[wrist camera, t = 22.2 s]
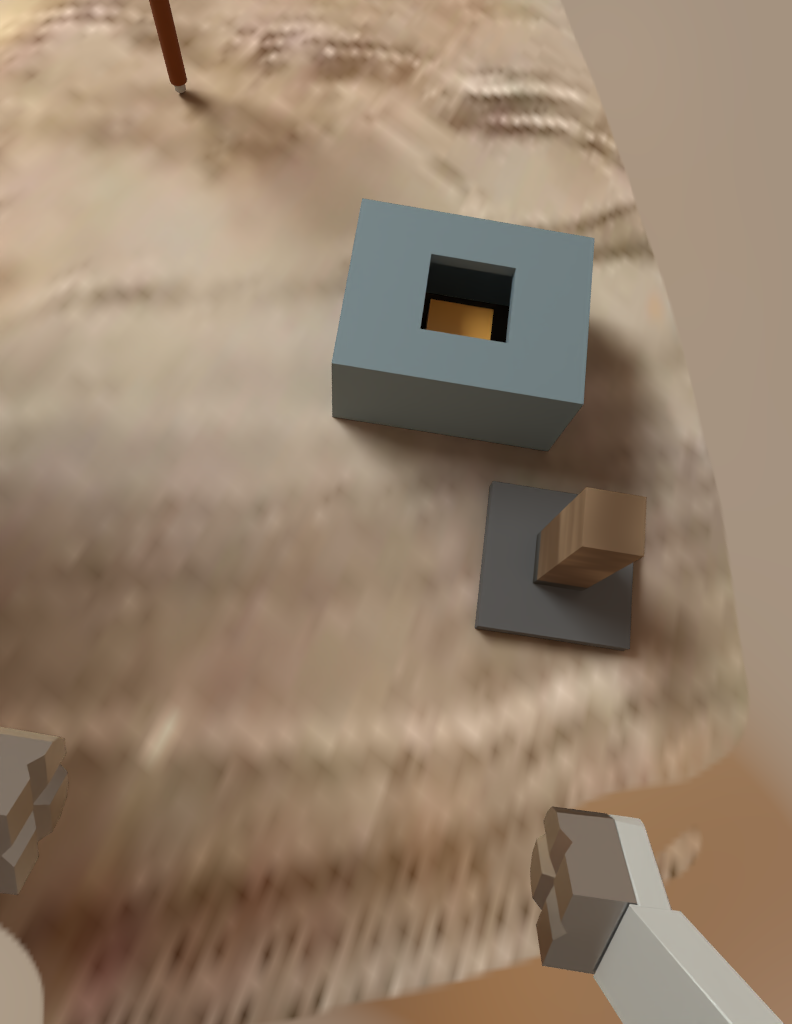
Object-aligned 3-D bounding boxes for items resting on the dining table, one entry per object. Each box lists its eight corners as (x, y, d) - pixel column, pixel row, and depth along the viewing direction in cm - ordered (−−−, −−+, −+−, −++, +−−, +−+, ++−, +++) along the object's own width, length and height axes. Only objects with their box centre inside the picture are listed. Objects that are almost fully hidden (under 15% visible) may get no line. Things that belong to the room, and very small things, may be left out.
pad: (474, 628, 42) (478, 625, 41) (489, 486, 45) (493, 481, 44) (623, 650, 43) (629, 648, 42) (629, 508, 45) (635, 503, 44)
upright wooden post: (532, 583, 42) (582, 546, 34) (536, 534, 43) (586, 487, 35) (582, 591, 42) (644, 556, 34) (585, 542, 43) (646, 497, 35)
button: (418, 375, 46) (422, 355, 44) (425, 321, 47) (430, 299, 45) (479, 385, 46) (487, 365, 44) (485, 331, 47) (493, 309, 45)
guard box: (332, 416, 46) (331, 362, 39) (358, 271, 49) (362, 198, 42) (547, 451, 46) (583, 404, 39) (559, 304, 49) (594, 238, 43)
